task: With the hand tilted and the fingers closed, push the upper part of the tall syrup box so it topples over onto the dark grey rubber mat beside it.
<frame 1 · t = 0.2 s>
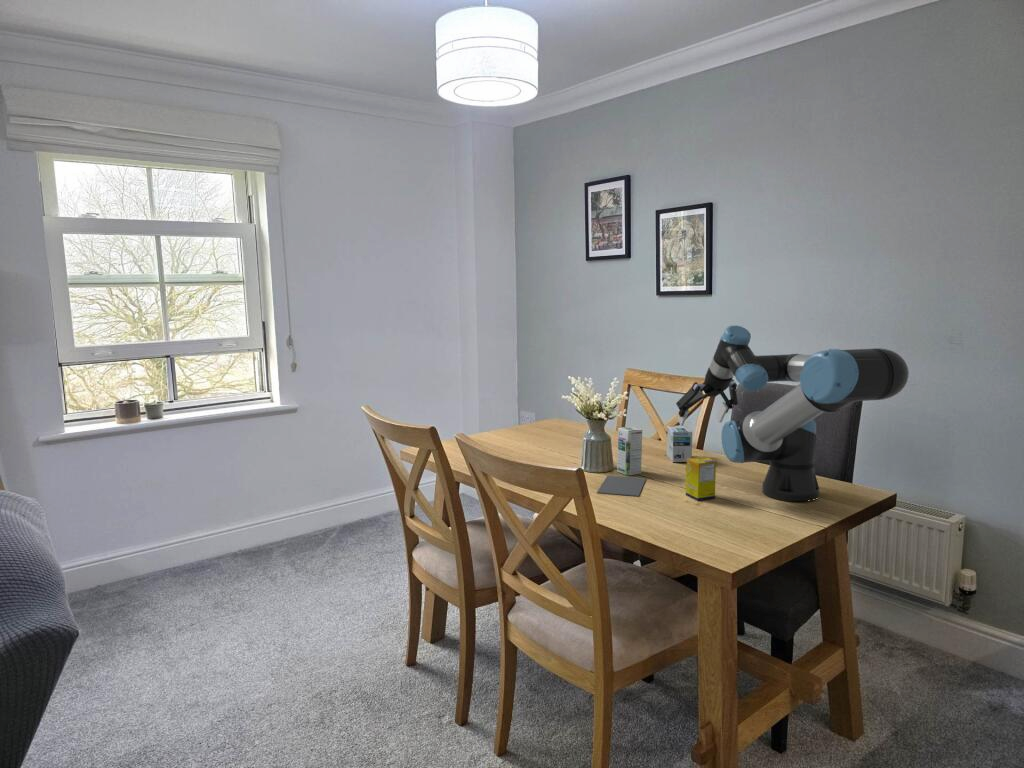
hand: (699, 421, 217), 16 cm above the table, tool tilted 35°, fingers open, 13 cm apart
syrup box: (629, 473, 217), on the table
supplement box: (699, 497, 192), on the table
mat: (622, 486, 203), on the table
light bulb box: (678, 459, 234), on the table
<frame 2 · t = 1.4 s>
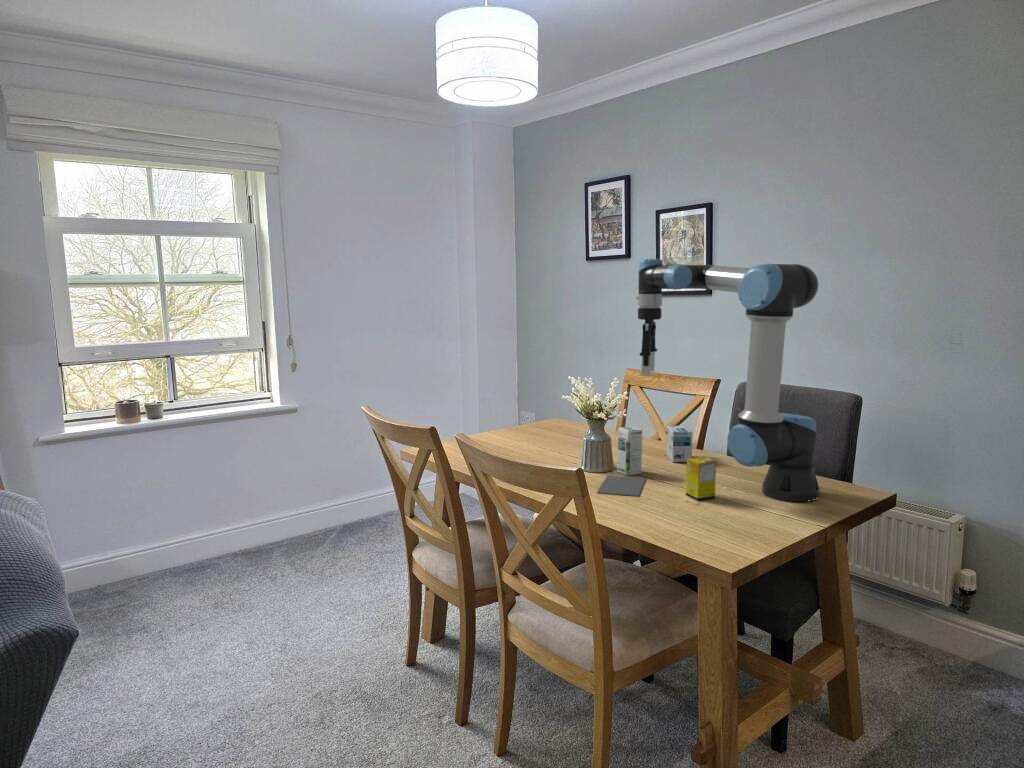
hand: (648, 373, 225), 30 cm above the table, tool pointing down, fingers open, 11 cm apart
nothing on the table moved.
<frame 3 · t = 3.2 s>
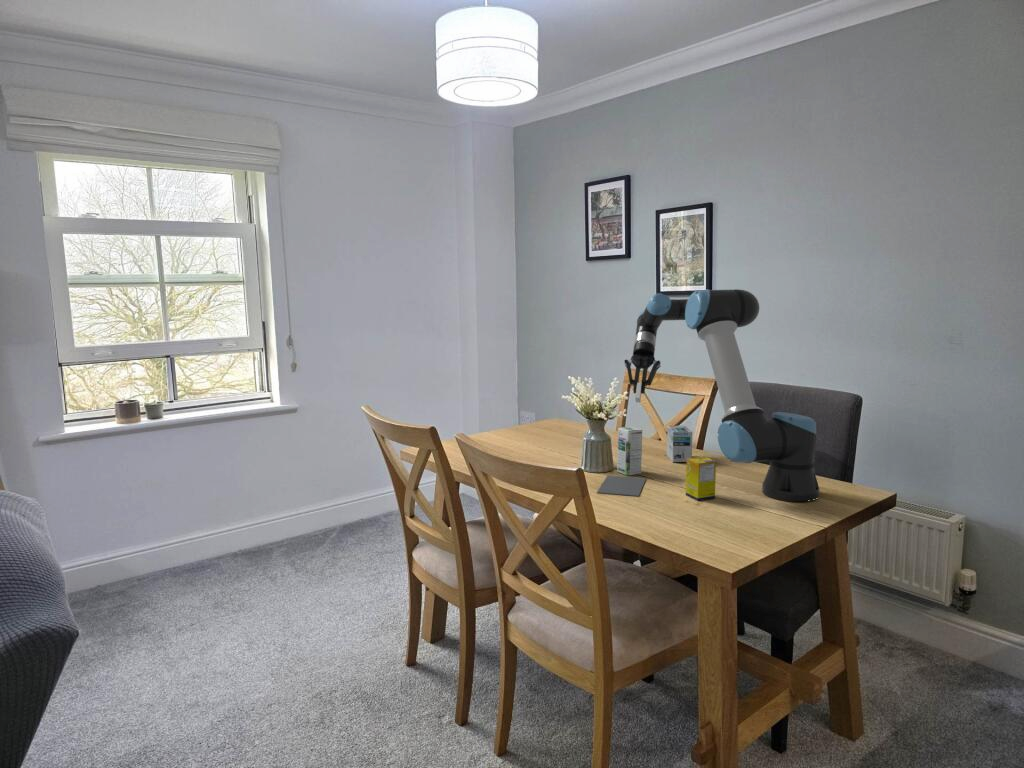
hand: (637, 400, 233), 20 cm above the table, tool tilted 45°, fingers closed
nothing on the table moved.
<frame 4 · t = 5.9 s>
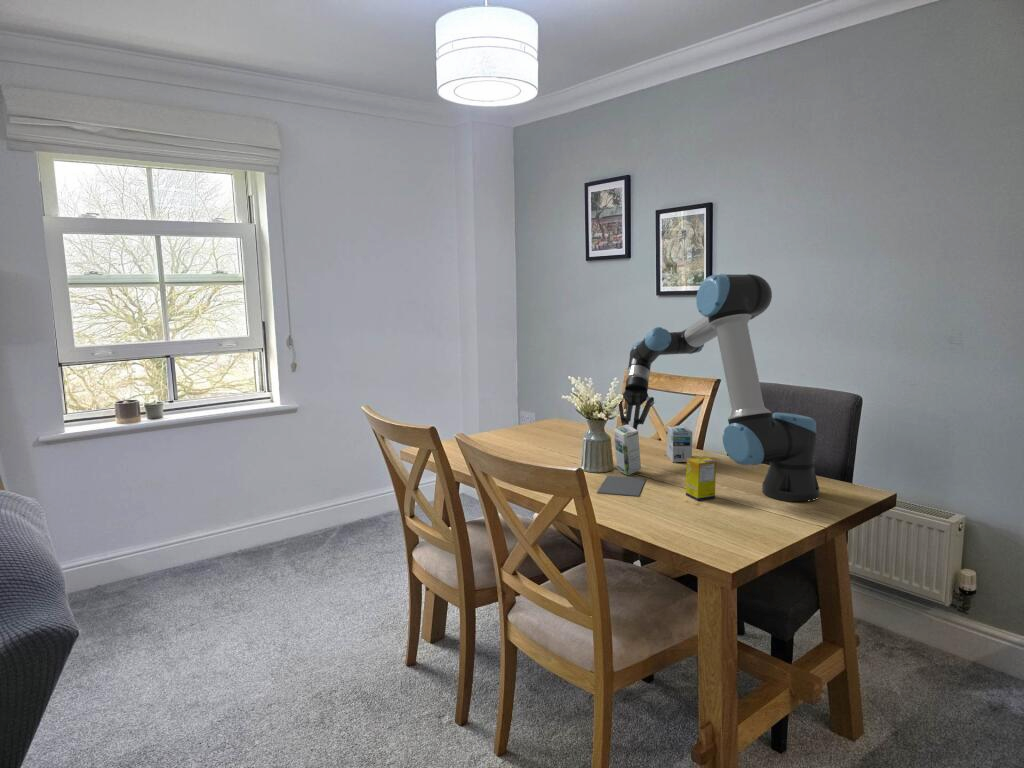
hand: (629, 440, 218), 10 cm above the table, tool tilted 45°, fingers closed
syrup box: (629, 469, 217), point 1 cm above the table, touching gripper
everything else where it was.
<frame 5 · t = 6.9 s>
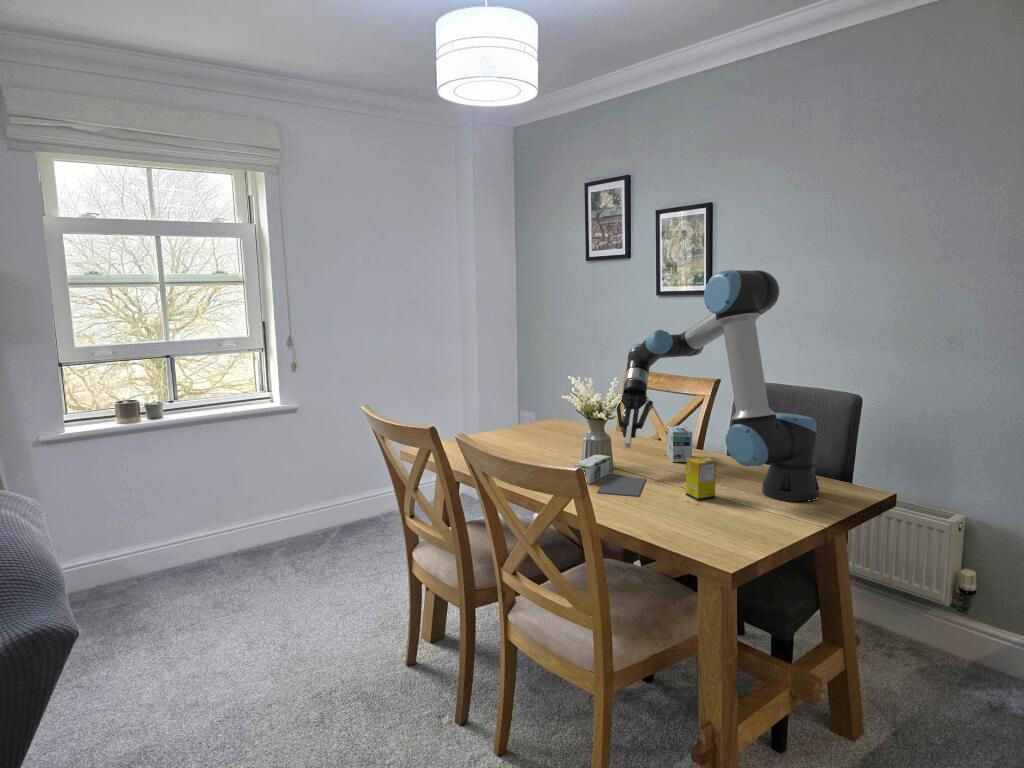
hand: (627, 445, 212), 10 cm above the table, tool tilted 45°, fingers closed
syrup box: (603, 463, 218), point 3 cm above the table
everything else where it was.
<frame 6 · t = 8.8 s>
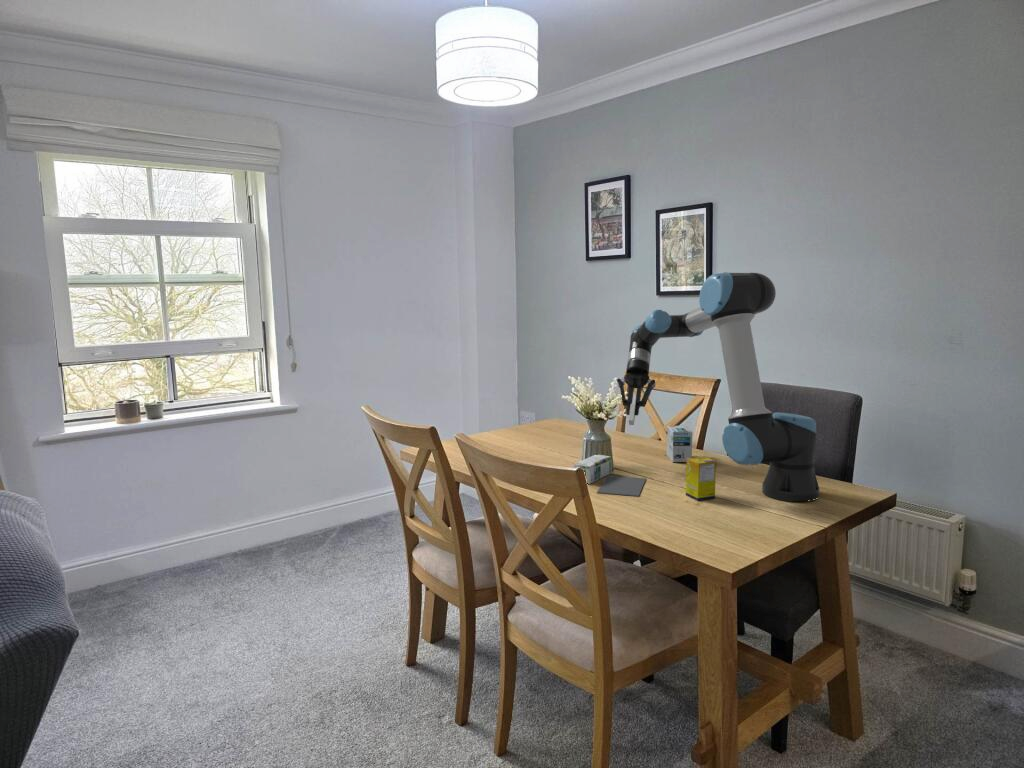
hand: (631, 422, 218), 16 cm above the table, tool tilted 45°, fingers closed
nothing on the table moved.
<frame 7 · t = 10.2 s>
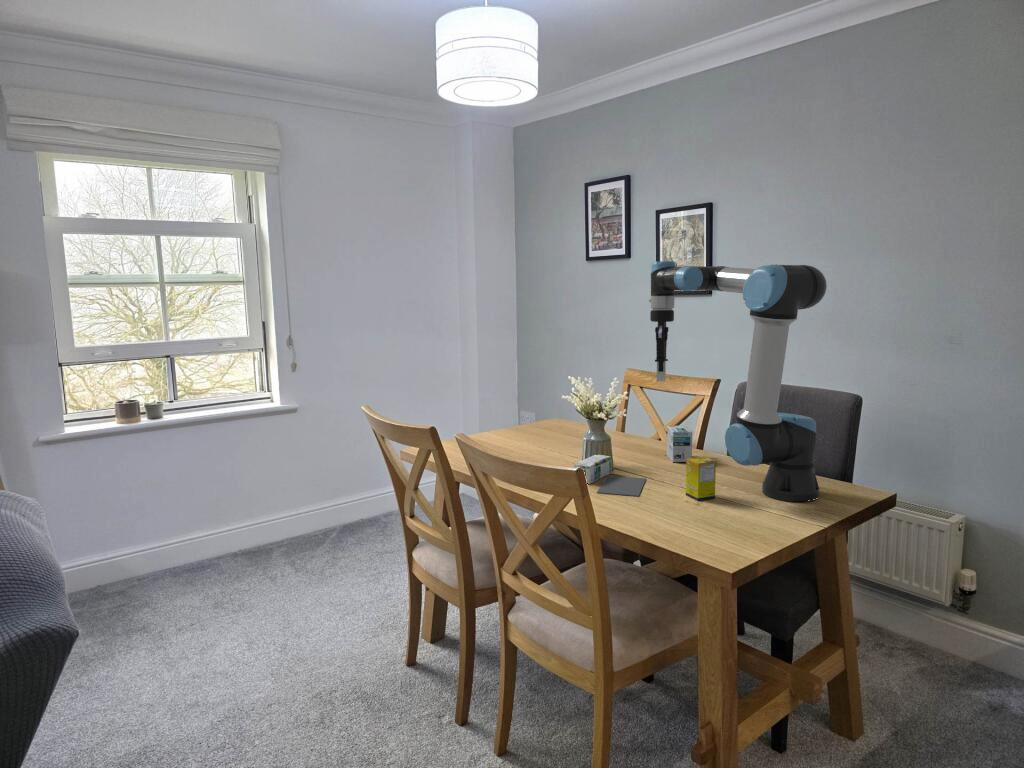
hand: (660, 381, 224), 28 cm above the table, tool pointing down, fingers closed
nothing on the table moved.
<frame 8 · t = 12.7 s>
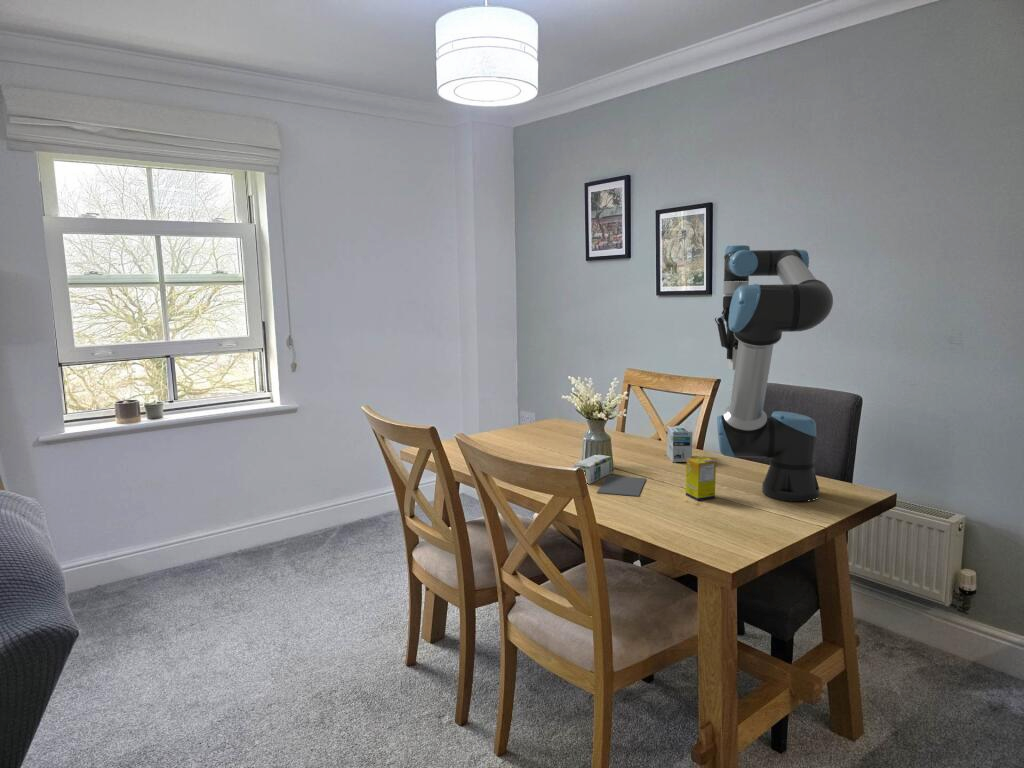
hand: (732, 369, 218), 32 cm above the table, tool pointing down, fingers closed
nothing on the table moved.
at the end: syrup box tilted 90°; syrup box inside the target area (10.9 cm from its centre), point 2.8 cm above the table; the gripper is holding nothing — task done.
